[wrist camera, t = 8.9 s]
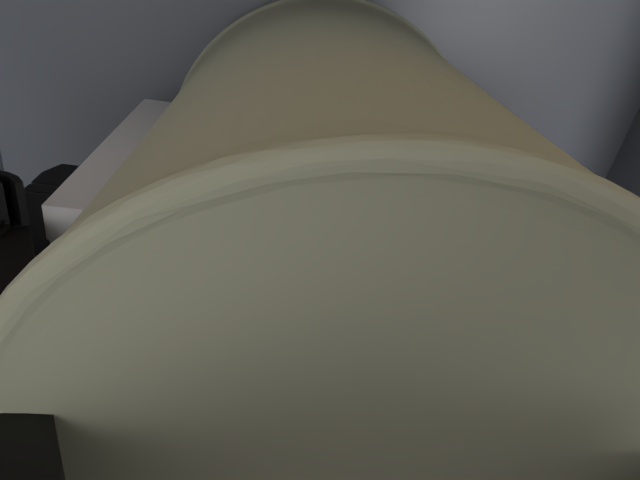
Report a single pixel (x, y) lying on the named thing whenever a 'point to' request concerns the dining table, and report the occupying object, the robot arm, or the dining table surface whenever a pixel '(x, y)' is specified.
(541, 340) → the can
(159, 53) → the box
